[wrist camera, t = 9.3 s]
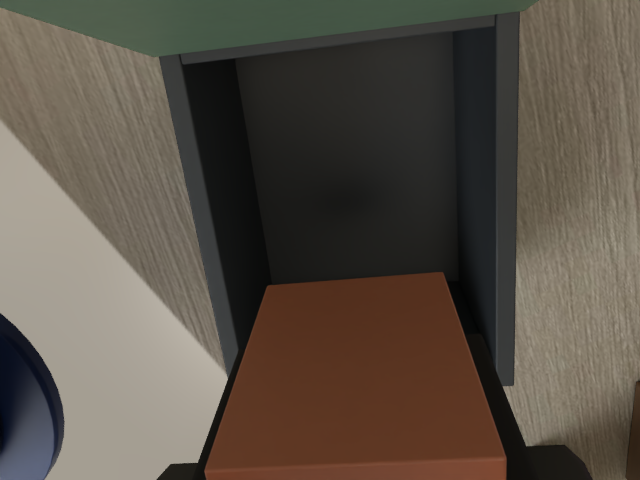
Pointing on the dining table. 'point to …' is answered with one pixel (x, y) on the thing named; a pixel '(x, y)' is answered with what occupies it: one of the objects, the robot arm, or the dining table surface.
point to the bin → (356, 166)
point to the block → (358, 388)
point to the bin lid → (241, 19)
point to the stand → (634, 440)
